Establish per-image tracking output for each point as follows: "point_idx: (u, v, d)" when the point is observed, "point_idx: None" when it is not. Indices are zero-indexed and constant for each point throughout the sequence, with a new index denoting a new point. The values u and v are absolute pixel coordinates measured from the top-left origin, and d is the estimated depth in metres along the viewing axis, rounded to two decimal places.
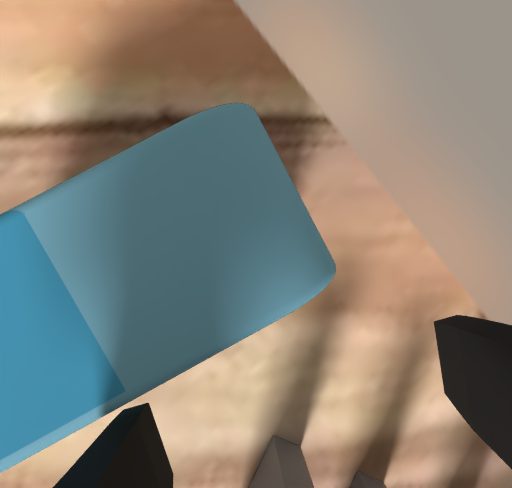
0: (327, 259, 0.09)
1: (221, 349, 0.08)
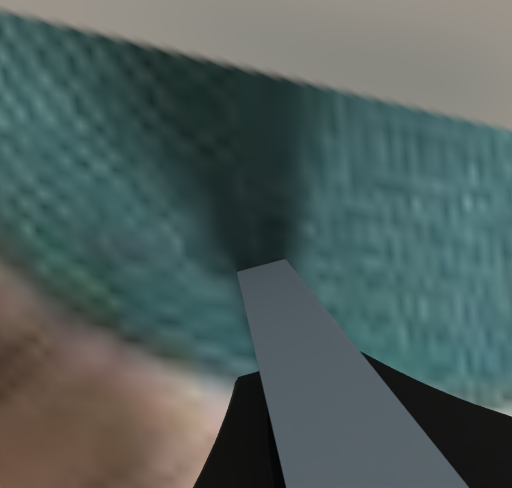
0: None
1: None
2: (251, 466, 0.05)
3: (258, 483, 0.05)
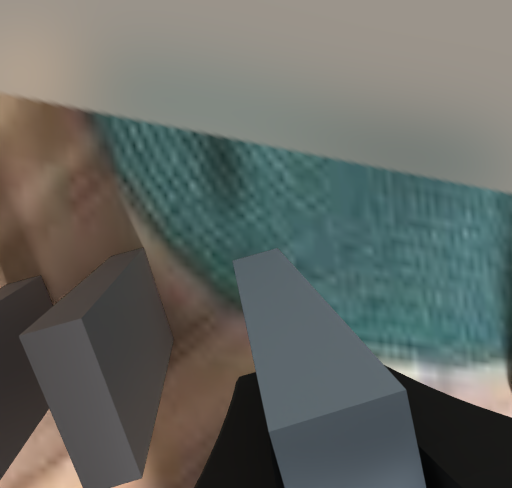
0: None
1: None
2: (252, 466, 0.05)
3: (260, 482, 0.05)
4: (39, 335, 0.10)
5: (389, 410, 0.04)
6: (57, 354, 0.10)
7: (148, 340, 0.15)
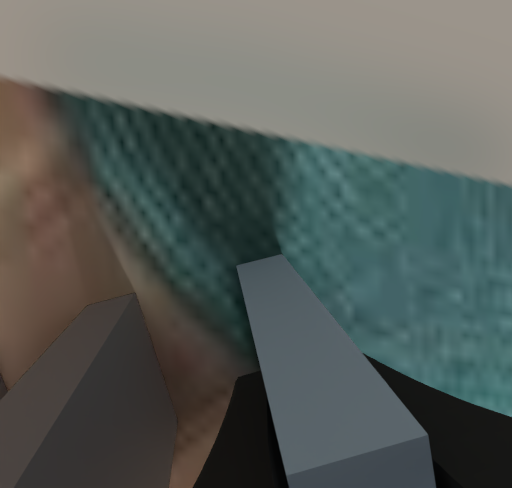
0: None
1: None
2: (251, 465, 0.05)
3: (258, 483, 0.05)
4: None
5: (409, 455, 0.04)
6: None
7: (138, 464, 0.09)
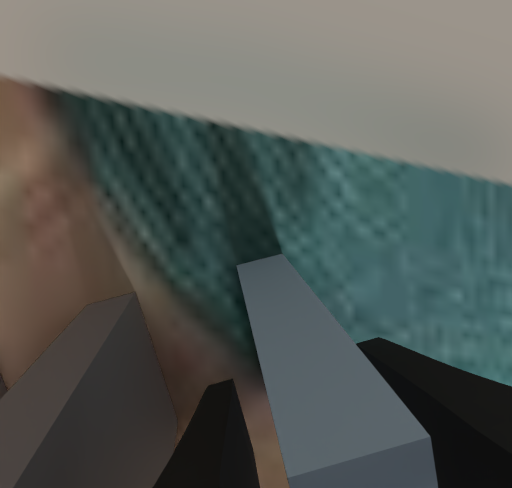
0: None
1: None
2: (200, 480, 0.05)
3: None
4: None
5: (412, 457, 0.04)
6: None
7: (138, 463, 0.09)
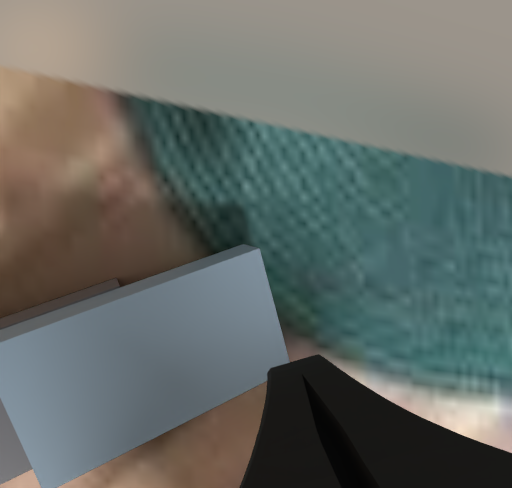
0: None
1: None
2: (303, 450, 0.05)
3: (315, 466, 0.05)
4: None
5: None
6: None
7: None
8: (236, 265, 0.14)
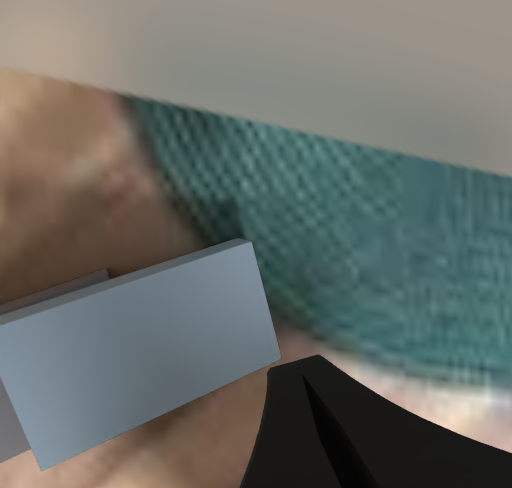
0: None
1: None
2: (303, 451, 0.05)
3: (315, 466, 0.05)
4: None
5: None
6: None
7: None
8: (228, 257, 0.14)
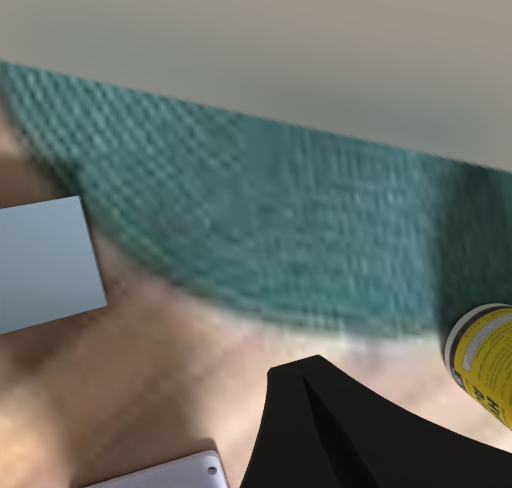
0: None
1: None
2: (303, 450, 0.05)
3: (315, 466, 0.05)
4: None
5: None
6: None
7: None
8: (53, 207, 0.16)
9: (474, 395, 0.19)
